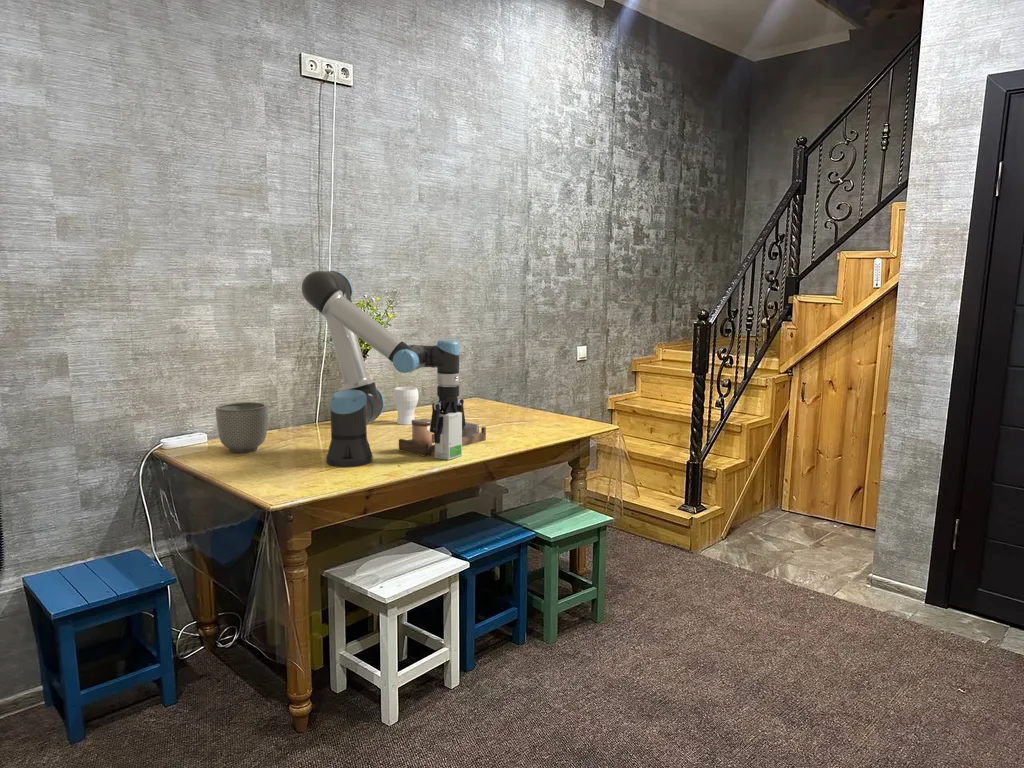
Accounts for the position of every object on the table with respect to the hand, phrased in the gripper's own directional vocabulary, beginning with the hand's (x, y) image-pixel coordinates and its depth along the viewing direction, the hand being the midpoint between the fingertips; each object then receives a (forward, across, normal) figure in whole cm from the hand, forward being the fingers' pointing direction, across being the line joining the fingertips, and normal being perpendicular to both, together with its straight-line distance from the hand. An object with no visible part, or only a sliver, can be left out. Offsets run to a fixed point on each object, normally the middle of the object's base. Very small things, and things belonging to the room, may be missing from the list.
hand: (448, 449), depth 246 cm
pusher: (+2, +27, +13) cm, 30 cm away
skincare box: (+3, 0, 0) cm, 3 cm away
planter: (+3, -40, +61) cm, 73 cm away
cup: (+3, +31, +52) cm, 61 cm away
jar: (+3, 0, +13) cm, 13 cm away
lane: (+3, +12, +13) cm, 18 cm away
